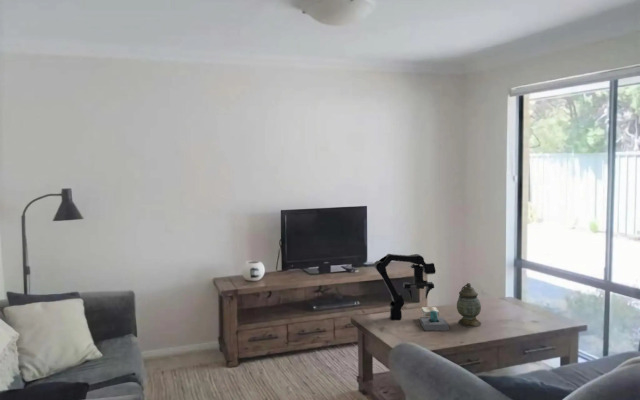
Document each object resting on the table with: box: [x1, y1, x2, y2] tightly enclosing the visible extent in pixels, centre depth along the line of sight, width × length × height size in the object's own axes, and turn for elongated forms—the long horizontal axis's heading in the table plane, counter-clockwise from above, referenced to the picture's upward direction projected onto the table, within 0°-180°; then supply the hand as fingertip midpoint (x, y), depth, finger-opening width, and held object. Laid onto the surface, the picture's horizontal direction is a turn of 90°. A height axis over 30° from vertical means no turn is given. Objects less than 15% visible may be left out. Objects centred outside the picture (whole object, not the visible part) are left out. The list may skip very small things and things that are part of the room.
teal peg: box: [429, 311, 438, 322], centre depth 297 cm, size 4×4×8 cm
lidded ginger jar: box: [456, 282, 482, 328], centre depth 300 cm, size 14×14×25 cm
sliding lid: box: [420, 306, 440, 317], centre depth 308 cm, size 9×9×3 cm
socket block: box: [419, 316, 449, 331], centre depth 297 cm, size 14×14×4 cm
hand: (418, 298), depth 314 cm, fingers open, 9 cm apart
